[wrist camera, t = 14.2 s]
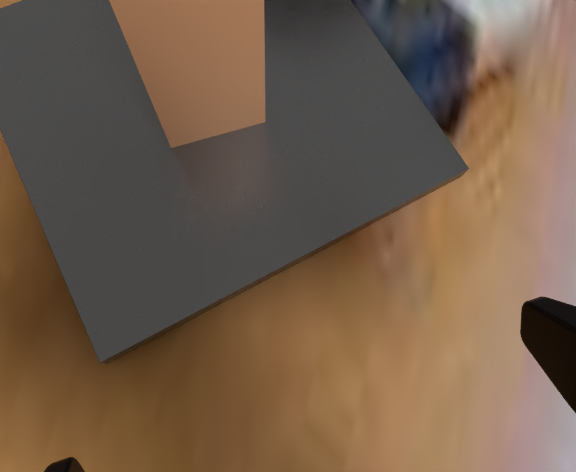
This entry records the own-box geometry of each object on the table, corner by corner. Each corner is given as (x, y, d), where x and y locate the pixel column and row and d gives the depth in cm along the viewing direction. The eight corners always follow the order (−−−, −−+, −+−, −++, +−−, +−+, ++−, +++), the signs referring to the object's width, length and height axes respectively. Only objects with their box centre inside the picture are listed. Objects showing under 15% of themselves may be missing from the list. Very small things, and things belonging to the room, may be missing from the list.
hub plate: (461, 176, 25) (511, 122, 20) (107, 363, 22) (56, 357, 17) (281, -82, 30) (284, -181, 25) (-33, 38, 27) (-108, -47, 21)
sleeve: (265, 121, 25) (263, -71, 14) (171, 148, 24) (94, -33, 13) (237, 44, 26) (216, -185, 15) (147, 67, 25) (60, -156, 15)
